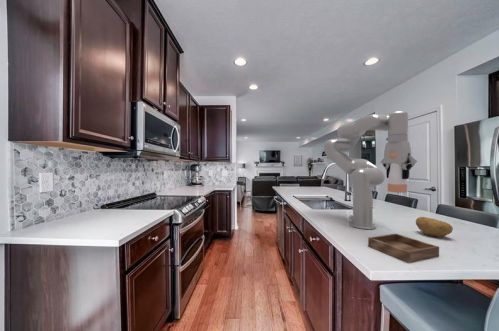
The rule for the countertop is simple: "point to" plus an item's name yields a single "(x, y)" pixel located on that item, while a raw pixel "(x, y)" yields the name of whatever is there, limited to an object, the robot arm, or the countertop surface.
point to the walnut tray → (403, 247)
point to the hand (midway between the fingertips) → (397, 178)
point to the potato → (433, 226)
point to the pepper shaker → (396, 177)
